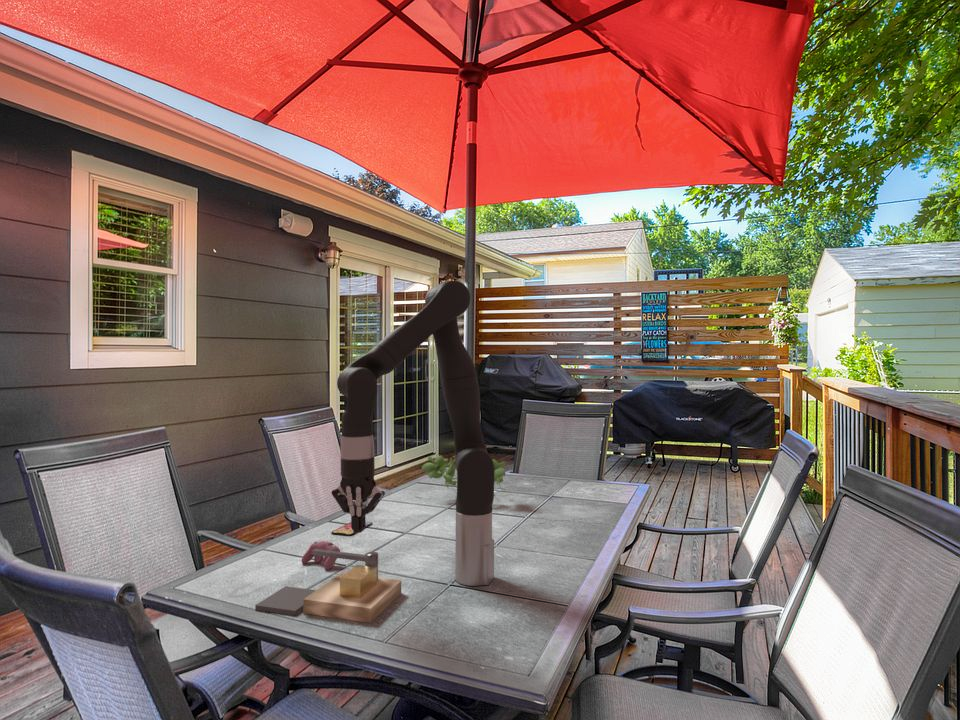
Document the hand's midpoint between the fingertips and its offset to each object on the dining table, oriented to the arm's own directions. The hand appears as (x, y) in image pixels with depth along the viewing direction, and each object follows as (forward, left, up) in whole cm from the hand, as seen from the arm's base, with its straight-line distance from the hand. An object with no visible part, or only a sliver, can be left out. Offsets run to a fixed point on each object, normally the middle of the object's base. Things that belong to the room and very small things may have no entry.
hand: (358, 531), depth 128 cm
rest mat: (+15, +4, -16) cm, 22 cm away
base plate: (+1, 0, -16) cm, 16 cm away
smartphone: (+29, -51, -17) cm, 61 cm away
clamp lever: (+7, -7, -13) cm, 16 cm away
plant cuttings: (+3, -98, -16) cm, 100 cm away
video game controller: (+21, -19, -16) cm, 33 cm away
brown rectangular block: (0, 0, -13) cm, 13 cm away
